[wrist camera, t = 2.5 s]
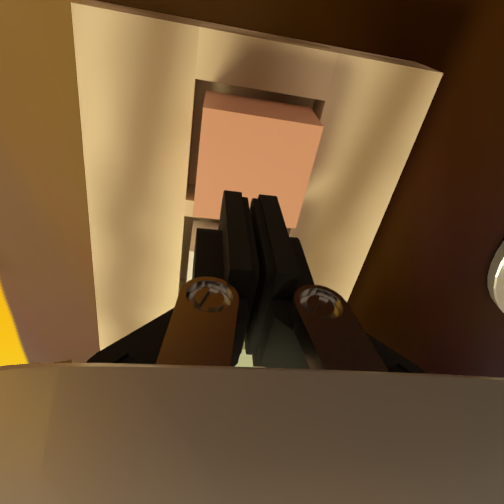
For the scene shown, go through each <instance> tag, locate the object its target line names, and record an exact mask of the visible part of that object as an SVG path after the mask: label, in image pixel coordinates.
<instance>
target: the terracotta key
mask: <svg viewBox="0 0 504 504" xmlns="http://www.w3.org/2000/svg"><path fill="white" fill-rule="evenodd" d="M323 128H324V126H323V125H322V123H321V122H320V120H319V119H318V118H317V116H316V115H315V113H314V112H313V110H312V109H311V108H310V107H305V106H299V105H293V104H287V103H281V102H275V101H269V100H263V99H257V98H251V97H245V96H239V95H233V94H227V93H221V92H215V91H209V90H206V92H205V98H204V104H203V112H202V122H201V133H200V143H199V154H198V165H197V175H196V186H195V197H194V207H193V217H202V218H211V219H220V212H221V205H222V198H223V192H224V190H228V191H236V192H242V197H248V202H249V208H250V205H251V200H252V198H258V196H259V194H262V195H271V196H277V198H278V201H279V205H280V208H281V211H282V215H283V218H284V221H285V225H286V227H287V228H296V225H297V222H298V218H299V214H300V211H301V207H302V204H303V200H304V196H305V193H306V189H307V185H308V182H309V178H310V175H311V171H312V167H313V164H314V160H315V156H316V153H317V149H318V146H319V142H320V138H321V135H322V131H323Z"/></svg>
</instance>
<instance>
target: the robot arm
mask: <svg viewBox="0 0 504 504" xmlns="http://www.w3.org/2000/svg"><path fill="white" fill-rule="evenodd" d="M488 290H489V293H490V296H491V298H492V299H493V301H494V302H495V303H496V305H497V306H498V307H499V308H500V309H501V310H502V312H503V313H504V241H503V242H502V244H501V245H500V247H499V248H498V250H497V252H496V254H495V256H494V258H493V260H492V262H491V265H490V269H489V273H488ZM244 341H245V351H246V354H247V355H252V360H253V367H234V366H235V365H237V364H238V361H239V356H240V354H241V353H242V349H243V345H244ZM263 367H265V368H263ZM0 504H504V378H497V377H485V376H463V375H444V374H434V373H430V374H426V373H425V372H424V371H423V370H421V369H420V368H419V367H418V366H416V365H415V364H413V363H412V362H410V361H409V360H407V359H406V358H404V357H402V356H401V355H399V354H398V353H396V352H395V351H393V350H392V349H390V348H388V347H387V346H385V345H384V344H382V343H381V342H379V341H377V340H376V339H374V338H373V337H371V336H370V335H368V334H367V333H365V331H364V330H363V328H362V326H361V325H360V323H359V321H358V320H357V318H356V317H355V315H354V313H353V312H352V310H351V308H350V307H349V305H348V304H347V302H346V301H345V300H344V298H343V297H342V296H341V295H340V294H338V293H337V292H336V291H334V290H332V289H330V288H328V287H325V286H321V285H315V284H314V281H313V278H312V275H311V272H310V269H309V266H308V263H307V260H306V257H305V254H304V251H303V248H302V246H301V243H300V240H299V238H297V237H289V234H288V231H287V228H286V225H285V221H284V218H283V215H282V211H281V208H280V205H279V201H278V198H277V196H271V195H262V194H259V196H258V198H252V200H251V205H250V208H249V202H248V197H242V192H236V191H228V190H224V192H223V198H222V205H221V212H220V219H219V226H218V230H215V229H204V228H197V230H196V239H195V249H194V259H193V272H192V280H189V281H188V282H186V283H185V284H184V285H183V286H182V288H181V290H180V292H179V295H178V298H177V301H176V304H175V307H174V308H172V309H171V310H169V311H167V312H166V313H164V314H162V315H161V316H159V317H157V318H155V319H154V320H152V321H150V322H149V323H147V324H145V325H143V326H142V327H140V328H138V329H137V330H135V331H133V332H131V333H130V334H128V335H126V336H125V337H123V338H121V339H120V340H118V341H116V342H114V343H113V344H111V345H109V346H108V347H106V348H104V349H102V350H101V351H99V352H98V353H96V354H95V355H94V356H92V357H91V358H90V359H89V360H88V361H87V362H86V363H72V360H67V361H60V362H54V363H32V364H19V365H7V366H0Z"/></svg>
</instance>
